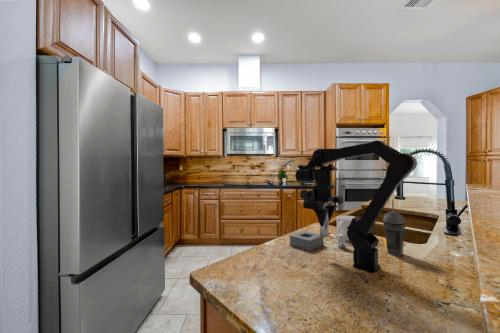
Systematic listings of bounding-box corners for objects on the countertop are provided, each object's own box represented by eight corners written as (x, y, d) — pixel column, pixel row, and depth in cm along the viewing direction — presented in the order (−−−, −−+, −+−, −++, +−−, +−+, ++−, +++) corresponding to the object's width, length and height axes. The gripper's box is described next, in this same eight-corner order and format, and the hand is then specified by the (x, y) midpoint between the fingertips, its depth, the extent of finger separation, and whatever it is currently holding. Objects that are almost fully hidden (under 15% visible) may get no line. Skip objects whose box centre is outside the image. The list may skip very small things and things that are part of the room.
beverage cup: (385, 255, 83) (383, 200, 83) (382, 249, 90) (380, 198, 90) (408, 258, 80) (407, 201, 81) (403, 251, 87) (402, 198, 87)
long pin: (330, 236, 84) (329, 209, 84) (326, 238, 82) (325, 210, 82) (322, 234, 86) (322, 208, 86) (318, 236, 84) (318, 209, 84)
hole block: (323, 244, 97) (323, 235, 97) (310, 250, 90) (310, 240, 90) (303, 239, 104) (303, 230, 104) (289, 244, 97) (289, 235, 97)
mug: (346, 234, 111) (345, 214, 111) (363, 239, 103) (362, 218, 103) (328, 238, 105) (327, 217, 105) (344, 243, 97) (343, 221, 97)
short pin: (347, 247, 93) (346, 235, 93) (343, 249, 91) (343, 236, 91) (339, 245, 95) (339, 233, 95) (336, 247, 93) (336, 235, 93)
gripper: (317, 180, 97) (318, 217, 96) (290, 183, 84) (291, 226, 84) (343, 181, 88) (344, 222, 88) (317, 185, 76) (318, 232, 76)
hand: (324, 225), depth 84 cm, fingers closed on long pin, 3 cm apart
